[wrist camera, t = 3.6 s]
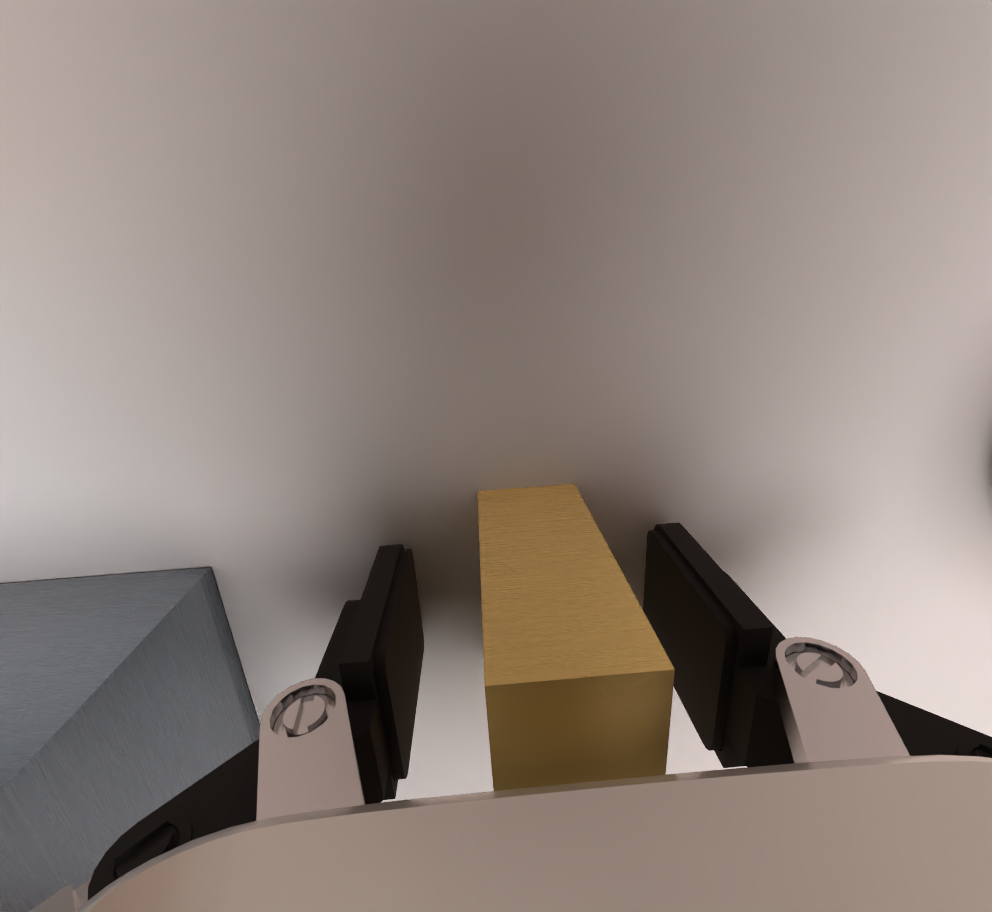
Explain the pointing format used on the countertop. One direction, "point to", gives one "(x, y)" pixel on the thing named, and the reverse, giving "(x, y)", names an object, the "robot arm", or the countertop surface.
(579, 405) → the countertop surface
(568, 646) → the golden tan rectangular block
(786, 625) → the countertop surface
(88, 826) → the grey block
